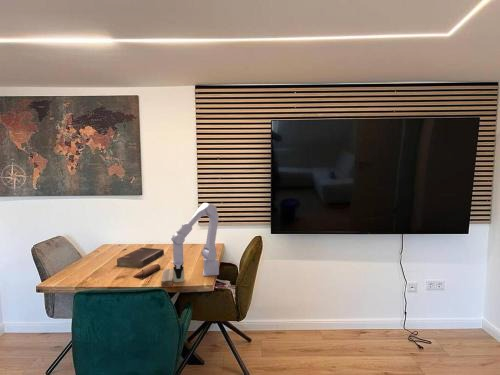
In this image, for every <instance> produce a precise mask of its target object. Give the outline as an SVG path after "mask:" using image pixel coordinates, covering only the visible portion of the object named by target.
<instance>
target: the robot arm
mask: <svg viewBox="0 0 500 375" xmlns="http://www.w3.org/2000/svg"><path fill="white" fill-rule="evenodd" d="M205 216H207V217H208V219H209V222H208V228H207V235H206V240H205V241H206V242H205V244H204V245H203V248H202V251H201V255H202V257H203V259H202V260H203V271H202V276H203V277H208V276H219V275H220V263H219V258H217V256H218V254H217V247H216V239H217V233H218V232H217V231H218V225H219V224H218V223H219V212H218V208H217V207H216V205H214V204H212V203H208V202H203V203H201V205H200V206H199V207H198V208H197V210H196V212H195V213H193V215H192V217H191V218H190V219H189V221H188V222H185V223H183V224H181V227H180V228H179V229H178V230H177V231H176V233H174V234H173V235H172V237H171V238H170V239H171V241H172V244H173V245H172V252H173V254H172V255H173V258H172V259H173V260H171V262H170V263H171V264H172V265H173V268H172V269H174V271H175V273H176V277H177V279H180V278H181V273H182V270H183V267H184V242H185V240H186V238H187V236H189V234H190V233H191V232H192V230H193V226H194V225H195V224H196V223H197V222H198V221H199V220H200V219H201V217H202V218H203V217H205Z"/></svg>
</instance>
